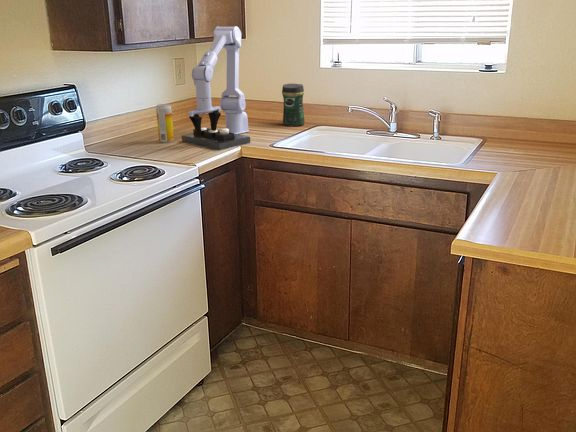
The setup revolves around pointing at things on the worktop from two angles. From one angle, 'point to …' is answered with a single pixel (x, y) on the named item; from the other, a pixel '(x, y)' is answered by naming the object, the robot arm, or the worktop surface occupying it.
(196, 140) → the push button control box
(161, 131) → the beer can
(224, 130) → the button
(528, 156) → the worktop surface
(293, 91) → the coffee jar
